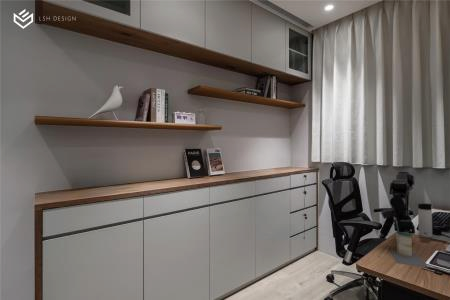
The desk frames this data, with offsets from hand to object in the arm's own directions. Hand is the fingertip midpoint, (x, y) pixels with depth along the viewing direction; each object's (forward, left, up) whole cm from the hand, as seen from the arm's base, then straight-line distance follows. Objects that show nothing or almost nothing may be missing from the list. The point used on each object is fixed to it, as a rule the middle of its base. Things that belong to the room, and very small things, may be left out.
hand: (400, 234), depth 125 cm
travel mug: (-28, +19, -8) cm, 35 cm away
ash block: (+6, 0, -8) cm, 9 cm away
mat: (+11, 0, -8) cm, 14 cm away
